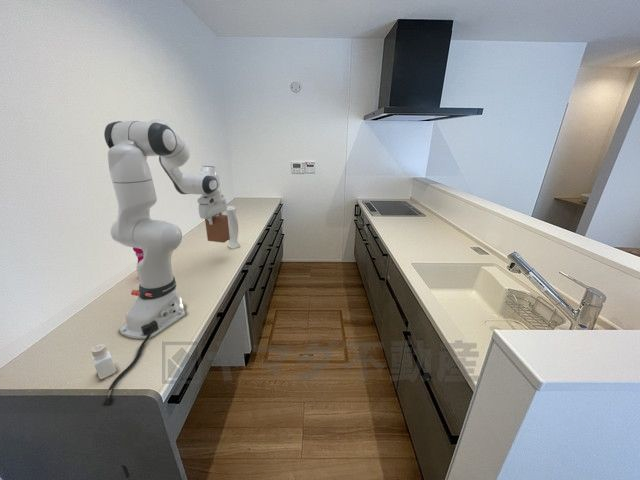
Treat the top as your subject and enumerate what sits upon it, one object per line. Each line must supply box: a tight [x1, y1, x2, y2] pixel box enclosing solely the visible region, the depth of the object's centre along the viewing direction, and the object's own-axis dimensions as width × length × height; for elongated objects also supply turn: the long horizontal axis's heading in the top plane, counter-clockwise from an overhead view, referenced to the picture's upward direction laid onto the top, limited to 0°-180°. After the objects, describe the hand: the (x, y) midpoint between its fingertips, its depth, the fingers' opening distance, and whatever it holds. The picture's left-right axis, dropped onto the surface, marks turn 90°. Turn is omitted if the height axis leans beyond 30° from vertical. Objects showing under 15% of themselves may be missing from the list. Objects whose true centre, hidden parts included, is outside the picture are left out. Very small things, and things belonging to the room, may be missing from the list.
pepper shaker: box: [90, 343, 117, 380], centre depth 77 cm, size 4×4×10 cm
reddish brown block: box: [204, 214, 230, 244], centre depth 145 cm, size 6×15×10 cm
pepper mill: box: [132, 247, 144, 271], centre depth 128 cm, size 7×7×20 cm
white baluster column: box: [224, 205, 241, 250], centre depth 166 cm, size 8×8×28 cm
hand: (215, 222), depth 144 cm, fingers closed on reddish brown block, 6 cm apart
